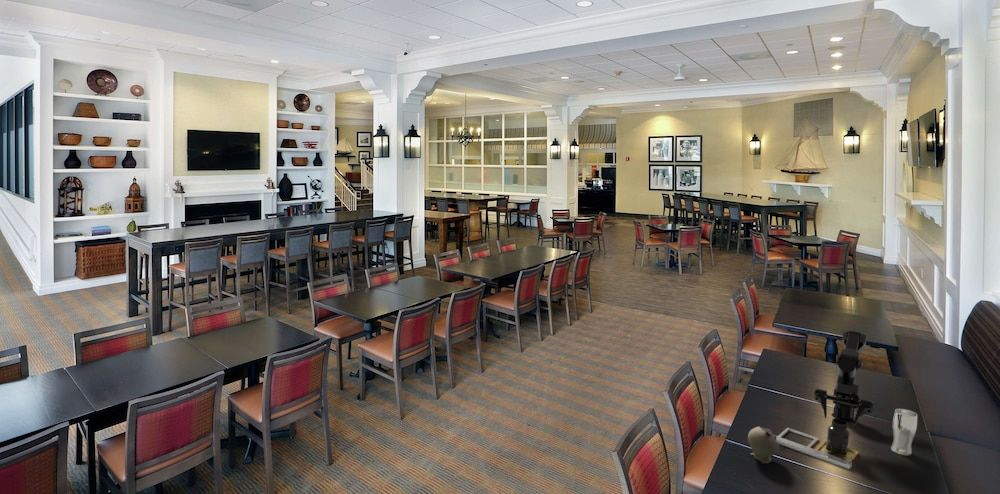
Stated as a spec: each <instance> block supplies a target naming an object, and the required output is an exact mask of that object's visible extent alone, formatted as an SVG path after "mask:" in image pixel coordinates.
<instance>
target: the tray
mask: <svg viewBox="0 0 1000 494" xmlns="http://www.w3.org/2000/svg"><path fill="white" fill-rule="evenodd" d="M788 432H791V433H795V434H797V435H799V436H803V437H806V438H808V439H812V441H811V442H810V443H809V444H807V446H806V445H804V444H801V443H797V442H795V441H792V440H790V439H787V438H783V436H785V435H786V434H787V433H788ZM775 436H776V437H777V439H776V441H777V443H778V444H779V446H783V447H786V448H788V449H791V450H793V451H796V452H800V453H802V454H805V455H807V456H811V457H813V458H817V459H819V460H822V461H825V462H828V463H830V464H833V465H836V466H838V467H842V468H844V469H847V470H850V469H852V466H853V460H854V459H855V458H856V457H857V456H858V455H859V451H858V450H855V449H853V448H849V447H848V451H847V455H846V456H835V455H832V454H830V453H829V452H827V450H826V439H824V440H822V442H821V443H820V444H819V445H818V446H817V447H816V448H815V449H814V448H812V447H813V446H814V445H815V444H816V443H817V442H818V441H819V437H817V436H814V435H810V434H808V433H804V432H802V431H798V430H796V429H794V428H793V429H792V428H789V427H786V428H785V429H784V430H782V432H781V433H779V434H778V435H775Z"/></svg>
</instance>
